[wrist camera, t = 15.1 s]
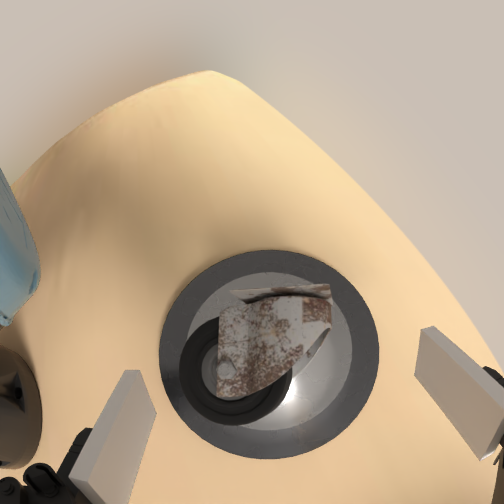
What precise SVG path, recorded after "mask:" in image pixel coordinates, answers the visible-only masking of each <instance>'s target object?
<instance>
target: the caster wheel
mask: <svg viewBox="0 0 504 504" xmlns="http://www.w3.org/2000/svg"><path fill="white" fill-rule="evenodd" d="M229 292H230V293H232V294H233V295H234V296H236V297H237V298H238V299H240V300H241V301H243V302H244V303H245V305H234V306H230V307H228V308H226V309H224V310H222V311H220V316H219V317H216V318H213V319H211V320H208V321H207V322H205V323H204V324H202V325H201V326H199V327H198V328H197V329H196V330H195V331H194V332H193V333H192V334H191V336H190V337H189V338H188V340H187V341H186V343H185V346H184V348H183V350H182V353H181V356H180V362H179V379H180V383H181V387H182V390H183V392H184V395H185V397H186V399H187V400H188V402H189V403H190V405H191V406H192V407H193V408H194V409H195V410H196V411H197V412H198V413H199V414H200V415H202V416H203V417H205V418H206V419H208V420H210V421H212V422H214V423H218V424H222V425H227V426H239V425H245V424H249V423H252V422H255V421H257V420H259V419H261V418H263V417H265V416H267V415H268V414H270V413H271V412H272V411H274V410H275V409H276V408H277V407H278V406H279V405H280V404H281V403H282V401H283V400H284V399H285V397H286V395H287V393H288V391H289V388H290V385H291V382H292V378H294V377H295V376H296V375H298V374H299V373H300V372H301V371H302V370H303V369H304V368H305V367H306V366H307V365H308V364H309V363H310V362H311V360H312V359H313V358H314V356H315V355H316V354H317V352H318V350H319V349H320V347H321V346H322V344H323V342H324V340H325V339H326V337H327V335H328V334H329V332H330V331H331V330H332V318H331V306H333V301H332V296H331V291H330V285H329V284H313V285H299V286H285V287H270V288H254V289H236V290H230V291H229Z"/></svg>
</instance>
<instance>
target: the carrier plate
mask: <svg viewBox="0 0 504 504" xmlns="http://www.w3.org/2000/svg"><path fill="white" fill-rule="evenodd" d="M313 284H329V285H330V291H331V296H332V301H333V306H331V318H332V330H331V331H330V332H329V334H328V335H327V337H326V339H325V340H324V342H323V344H322V346H321V347H320V349H319V350H318V352H317V354H316V355H315V356H314V358H313V359H312V360H311V362H310V363H309V364H308V365H307V366H306V367H305V368H304V369H303V370H302V371H301V372H300V373H299V374H298V375H296V376H295V377H294V378H292V382H291V385H290V388H289V391H288V393H287V395H286V397H285V399H284V400H283V401H282V403H281V404H280V405H279V406H278V407H277V408H276V409H275V410H274V411H272V412H271V413H270V414H268V415H267V416H265V417H263V418H261V419H259V420H257V421H255V422H252V423H249V424H245V425H239V426H227V425H222V424H218V423H214V422H212V421H210V420H208V419H206V418H205V417H203V416H202V415H200V414H199V413H198V412H197V411H196V410H195V409H194V408H193V407H192V406H191V405H190V403H189V402H188V400H187V399H186V397H185V395H184V392H183V390H182V387H181V383H180V379H179V362H180V356H181V353H182V350H183V348H184V346H185V343H186V341H187V340H188V338H189V337H190V336H191V334H192V333H193V332H194V331H195V330H196V329H197V328H198V327H199V326H201V325H202V324H204V323H205V322H207V321H208V320H211V319H213V318H216V317H219V316H220V311H222V310H224V309H226V308H228V307H230V306H234V305H245V303H244V302H243V301H241V300H240V299H238V298H237V297H236V296H234V295H233V294H232V293H230V292H229V291H230V290H236V289H254V288H270V287H285V286H299V285H313ZM378 364H379V343H378V334H377V330H376V327H375V323H374V320H373V317H372V315H371V313H370V310H369V308H368V306H367V305H366V303H365V301H364V300H363V298H362V296H361V295H360V294H359V292H358V291H357V290H356V289H355V287H354V286H353V285H352V284H351V283H350V282H349V281H348V280H347V279H346V278H345V277H344V276H342V275H341V274H340V273H338V272H337V271H336V270H335V269H333V268H331V267H330V266H328V265H326V264H325V263H323V262H320V261H318V260H316V259H314V258H312V257H308V256H305V255H302V254H299V253H294V252H289V251H279V250H261V251H254V252H247V253H243V254H239V255H236V256H233V257H230V258H228V259H225V260H223V261H221V262H219V263H217V264H215V265H213V266H211V267H210V268H208V269H207V270H205V271H204V272H202V273H201V274H200V275H198V276H197V277H196V278H195V279H194V280H193V281H191V282H190V284H189V285H188V286H187V287H186V288H185V289H184V290H183V291H182V292H181V294H180V295H179V297H178V298H177V299H176V301H175V302H174V304H173V306H172V308H171V310H170V311H169V313H168V316H167V318H166V321H165V324H164V326H163V330H162V334H161V339H160V348H159V366H160V372H161V378H162V382H163V385H164V388H165V391H166V394H167V396H168V398H169V400H170V402H171V404H172V406H173V407H174V409H175V410H176V412H177V413H178V415H179V416H180V418H181V419H182V420H183V421H184V422H185V423H186V424H187V426H188V427H189V428H190V429H191V430H192V431H194V432H195V433H196V434H197V435H198V436H200V437H201V438H202V439H204V440H205V441H207V442H209V443H210V444H212V445H213V446H215V447H217V448H220V449H222V450H224V451H226V452H229V453H232V454H235V455H239V456H243V457H248V458H256V459H280V458H287V457H293V456H297V455H300V454H303V453H307V452H309V451H312V450H314V449H316V448H318V447H320V446H322V445H324V444H326V443H327V442H329V441H330V440H332V439H334V438H335V437H336V436H338V435H339V434H340V433H341V432H342V431H344V430H345V429H346V428H347V427H348V426H349V425H350V424H351V423H352V422H353V420H354V419H355V418H356V417H357V416H358V414H359V413H360V411H361V410H362V408H363V407H364V405H365V404H366V402H367V400H368V398H369V396H370V394H371V391H372V389H373V386H374V383H375V379H376V376H377V370H378Z"/></svg>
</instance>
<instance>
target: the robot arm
mask: <svg viewBox="0 0 504 504" xmlns="http://www.w3.org/2000/svg"><path fill="white" fill-rule="evenodd" d="M40 275H41V267H40V260H39V256H38V252H37V249H36V246H35V243H34V240H33V238H32V235H31V232H30V230H29V228H28V225H27V223H26V221H25V218H24V216H23V214H22V212H21V209H20V207H19V205H18V203H17V201H16V199H15V197H14V194H13V192H12V190H11V188H10V186H9V184H8V182H7V180H6V178H5V176H4V174H3V172H2V170H1V169H0V330H1V329H2V328H3V327H4V326H9V325H10V324H11V323H12V321H13V318H14V315H15V314H16V313H17V312H18V311H19V309H20V308H21V307H22V306H23V305H24V304H25V303H26V302H27V301H28V299H29V298H30V297H31V296H32V295H33V294H34V292H35V291H36V289H37V287H38V285H39V281H40ZM414 376H415V377H416V378H417V379H418V381H419V382H420V383H421V384H422V386H423V387H424V388H425V389H426V391H427V392H428V393H429V394H430V396H431V397H432V398H433V400H434V401H435V402H436V403H437V405H438V406H439V407H440V409H441V410H442V411H443V412H444V414H445V415H446V416H447V418H448V419H449V420H450V422H451V423H452V424H453V426H454V427H455V428H456V429H457V431H458V432H459V433H460V435H461V436H462V437H463V439H464V440H465V442H466V443H467V444H468V446H469V447H470V448H471V450H472V451H473V452H474V454H475V455H476V457H477V458H478V459H479V461H481V460H483V459H484V458H486V457H488V456H489V455H491V454H493V453H494V451H495V450H496V448H497V446H498V444H499V443H500V445H501V446H502V447H503V448H502V450H501V451H500V453H499V455H498V456H497V458H496V459H495V461H494V464H493V465H496V463H497V462H498V460H499V466H498V472H497V478H496V484H495V489H494V494H493V499H492V503H491V504H504V378H503V377H502V376H501V375H500V374H499V373H498V372H497V371H496V370H494V369H491V368H489V367H487V366H485V367H483V368H481V367H480V366H479V365H478V364H477V363H476V362H475V361H474V360H473V359H471V358H470V357H469V356H468V355H467V354H466V353H465V352H463V351H462V350H461V349H460V348H459V347H458V346H457V345H455V344H454V343H453V342H452V341H451V340H450V339H449V338H447V337H446V336H445V335H444V334H443V333H442V332H440V331H439V330H438V329H437V328H436V327H434V326H431V327H428V328H424V329H421V334H420V341H419V349H418V355H417V362H416V368H415V373H414ZM156 414H157V413H156V411H155V408H154V406H153V404H152V401H151V398H150V396H149V393H148V391H147V388H146V386H145V383H144V380H143V377H142V375H141V372H140V370H125V371H124V373H123V375H122V377H121V378H120V380H119V382H118V384H117V385H116V387H115V389H114V391H113V393H112V394H111V396H110V398H109V400H108V402H107V403H106V405H105V407H104V409H103V411H102V413H101V415H100V416H99V418H98V420H97V422H96V424H95V426H94V428H85V429H84V430H82V431H81V432H80V433H79V434H78V435H77V436H76V438H75V440H74V442H73V445H71V447H70V449H69V453H67V455H66V456H65V458H64V460H63V462H62V464H61V466H60V468H59V469H58V471H57V473H55V471H54V470H53V469H52V468H51V467H50V466H49V465H47V464H45V463H35V464H33V465H31V466H29V467H28V468H27V469H26V470H25V472H24V475H23V481H24V482H25V483H26V484H27V485H28V486H22V485H21V484H20V482H19V481H18V480H17V479H15V478H13V477H5V478H2V479H1V480H0V504H128V503H129V499H130V496H131V492H132V489H133V486H134V482H135V479H136V476H137V473H138V469H139V466H140V463H141V460H142V457H143V454H144V450H145V447H146V444H147V441H148V438H149V435H150V432H151V429H152V426H153V423H154V420H155V417H156ZM41 427H42V412H41V403H40V397H39V393H38V389H37V385H36V382H35V380H34V377H33V375H32V373H31V371H30V369H29V367H28V366H27V364H26V363H25V361H24V360H23V359H22V358H21V357H20V356H19V355H18V354H17V353H15V352H14V351H12V350H10V349H7V348H5V347H3V346H1V345H0V468H2V469H18V468H21V467H23V466H25V465H26V464H28V463H29V462H30V461H31V459H32V458H33V456H34V455H35V453H36V450H37V448H38V445H39V441H40V436H41Z"/></svg>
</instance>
